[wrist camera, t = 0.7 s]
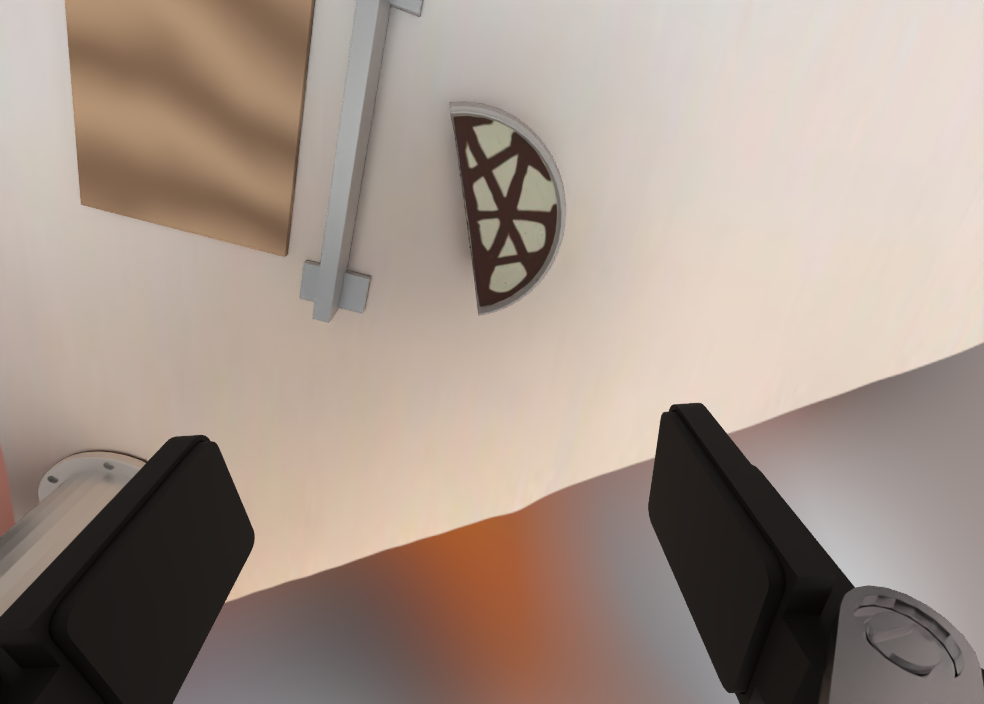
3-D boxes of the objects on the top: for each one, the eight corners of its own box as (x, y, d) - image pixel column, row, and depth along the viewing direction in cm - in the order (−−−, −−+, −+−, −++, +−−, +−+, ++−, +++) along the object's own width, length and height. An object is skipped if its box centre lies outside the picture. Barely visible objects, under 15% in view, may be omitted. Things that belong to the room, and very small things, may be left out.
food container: (548, 267, 37) (576, 310, 28) (474, 277, 37) (479, 323, 28) (537, 97, 32) (568, 84, 23) (451, 108, 32) (448, 99, 23)
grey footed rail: (364, 310, 38) (354, 328, 34) (302, 295, 37) (286, 312, 33) (430, -40, 28) (426, -65, 25) (349, -72, 27) (332, -103, 24)
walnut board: (287, 254, 35) (284, 256, 35) (87, 203, 33) (81, 204, 32) (317, -22, 28) (314, -25, 28) (63, -115, 26) (55, -120, 25)
